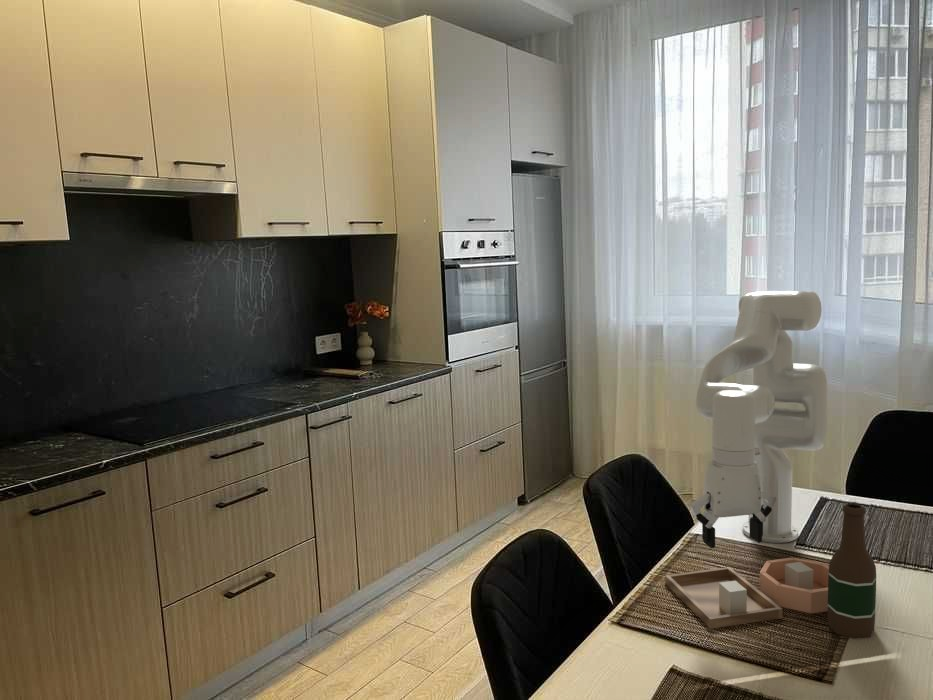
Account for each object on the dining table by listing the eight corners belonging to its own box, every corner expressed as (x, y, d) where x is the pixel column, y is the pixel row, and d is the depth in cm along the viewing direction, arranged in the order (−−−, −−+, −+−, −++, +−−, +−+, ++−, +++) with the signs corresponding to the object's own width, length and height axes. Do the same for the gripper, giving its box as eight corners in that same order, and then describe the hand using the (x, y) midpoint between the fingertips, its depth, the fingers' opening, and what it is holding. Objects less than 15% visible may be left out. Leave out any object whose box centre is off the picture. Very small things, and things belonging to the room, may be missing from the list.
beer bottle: (870, 623, 134) (874, 499, 131) (879, 645, 127) (883, 515, 124) (824, 617, 137) (826, 496, 134) (830, 639, 130) (833, 511, 126)
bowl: (747, 584, 151) (747, 563, 151) (810, 576, 154) (810, 555, 153) (790, 619, 137) (790, 595, 136) (858, 609, 139) (859, 585, 139)
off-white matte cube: (784, 587, 148) (785, 564, 147) (799, 584, 149) (799, 561, 148) (797, 596, 144) (798, 572, 143) (812, 593, 145) (813, 569, 144)
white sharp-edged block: (719, 606, 142) (719, 582, 141) (735, 604, 142) (735, 580, 142) (729, 616, 138) (729, 592, 137) (746, 614, 138) (746, 589, 138)
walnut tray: (665, 586, 152) (665, 575, 152) (729, 577, 155) (729, 566, 155) (710, 631, 134) (710, 619, 134) (782, 620, 137) (782, 608, 136)
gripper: (763, 447, 141) (762, 531, 143) (681, 454, 138) (681, 540, 140) (787, 457, 133) (785, 545, 136) (700, 465, 130) (700, 555, 133)
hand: (732, 542), depth 138 cm, fingers open, 9 cm apart
